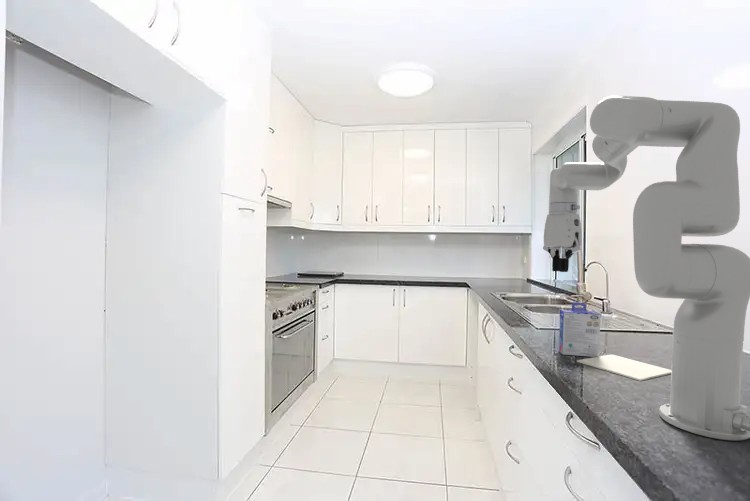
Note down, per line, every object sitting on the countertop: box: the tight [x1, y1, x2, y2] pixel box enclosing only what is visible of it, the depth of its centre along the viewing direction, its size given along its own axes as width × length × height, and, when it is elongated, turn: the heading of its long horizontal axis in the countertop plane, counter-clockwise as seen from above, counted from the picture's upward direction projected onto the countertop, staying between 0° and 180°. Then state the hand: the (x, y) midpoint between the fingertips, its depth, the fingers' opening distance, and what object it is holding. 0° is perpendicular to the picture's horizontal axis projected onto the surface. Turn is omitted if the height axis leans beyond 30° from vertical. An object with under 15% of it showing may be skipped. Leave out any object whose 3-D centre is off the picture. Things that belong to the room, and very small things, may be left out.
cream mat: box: [576, 354, 671, 382], centre depth 104 cm, size 16×15×1 cm
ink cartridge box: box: [558, 301, 602, 358], centre depth 115 cm, size 10×6×14 cm, turn 78°
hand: (560, 271), depth 121 cm, fingers closed
